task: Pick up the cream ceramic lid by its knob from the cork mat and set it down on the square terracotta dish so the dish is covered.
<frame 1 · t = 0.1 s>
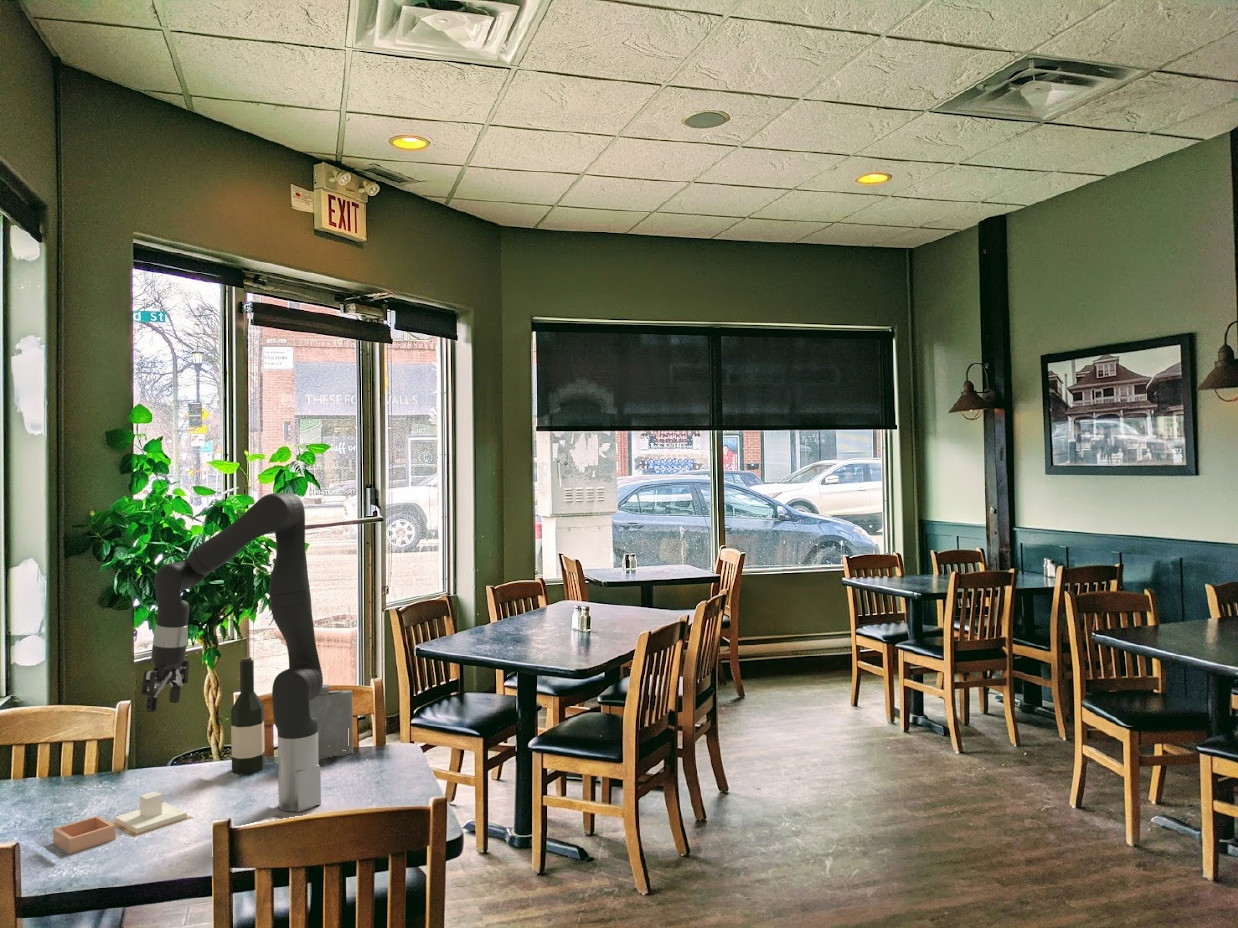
hand: (162, 706, 220), 22 cm above the table, tool pointing down, fingers open, 8 cm apart
hip flask: (324, 757, 250), on the table
lid: (151, 819, 204), point 1 cm above the table, touching mat
dish: (84, 845, 193), on the table
wine bottle: (248, 769, 241), on the table
mat: (151, 824, 204), on the table
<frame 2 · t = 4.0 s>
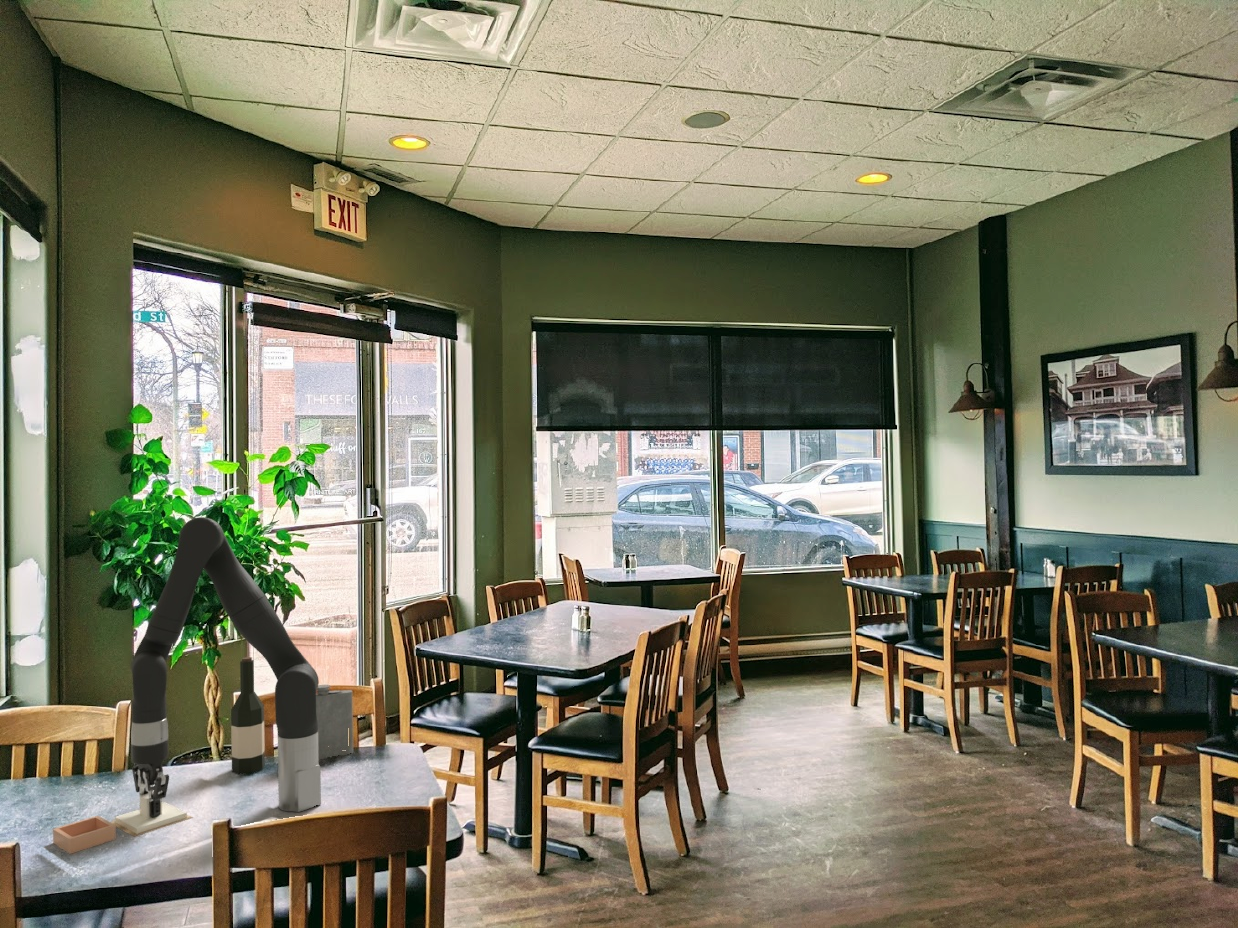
hand: (150, 813, 204), 2 cm above the table, tool pointing down, fingers closed on lid, 3 cm apart
lid: (151, 819, 204), point 1 cm above the table, touching gripper, mat
everything else where it was.
when the fingers open (7 cm above the table, at t = 8.5 s): lid drops 1 cm, resting on dish.
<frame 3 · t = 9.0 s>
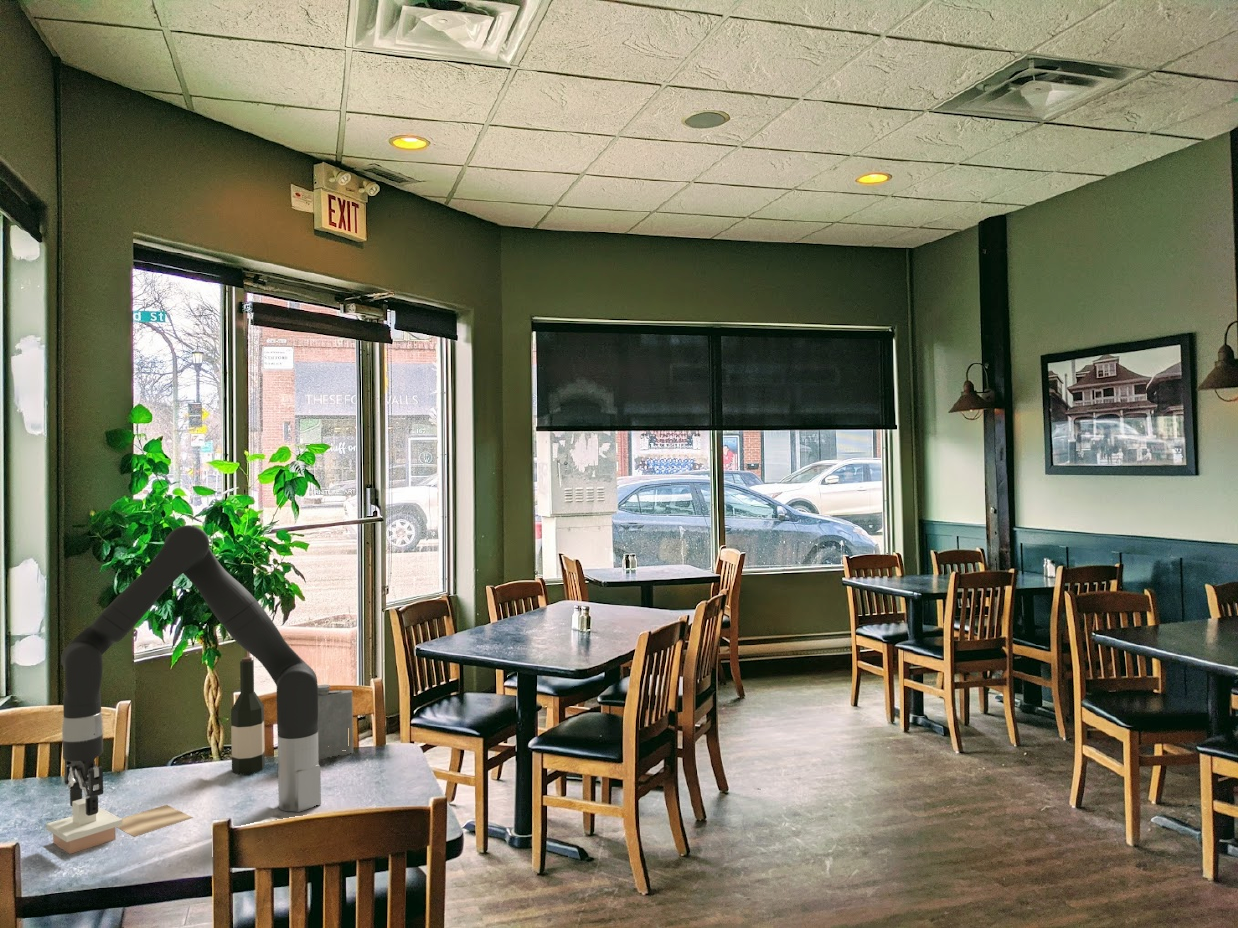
hand: (84, 809, 193), 8 cm above the table, tool pointing down, fingers open, 8 cm apart
lid: (84, 826, 193), point 4 cm above the table, touching dish
everything else where it was.
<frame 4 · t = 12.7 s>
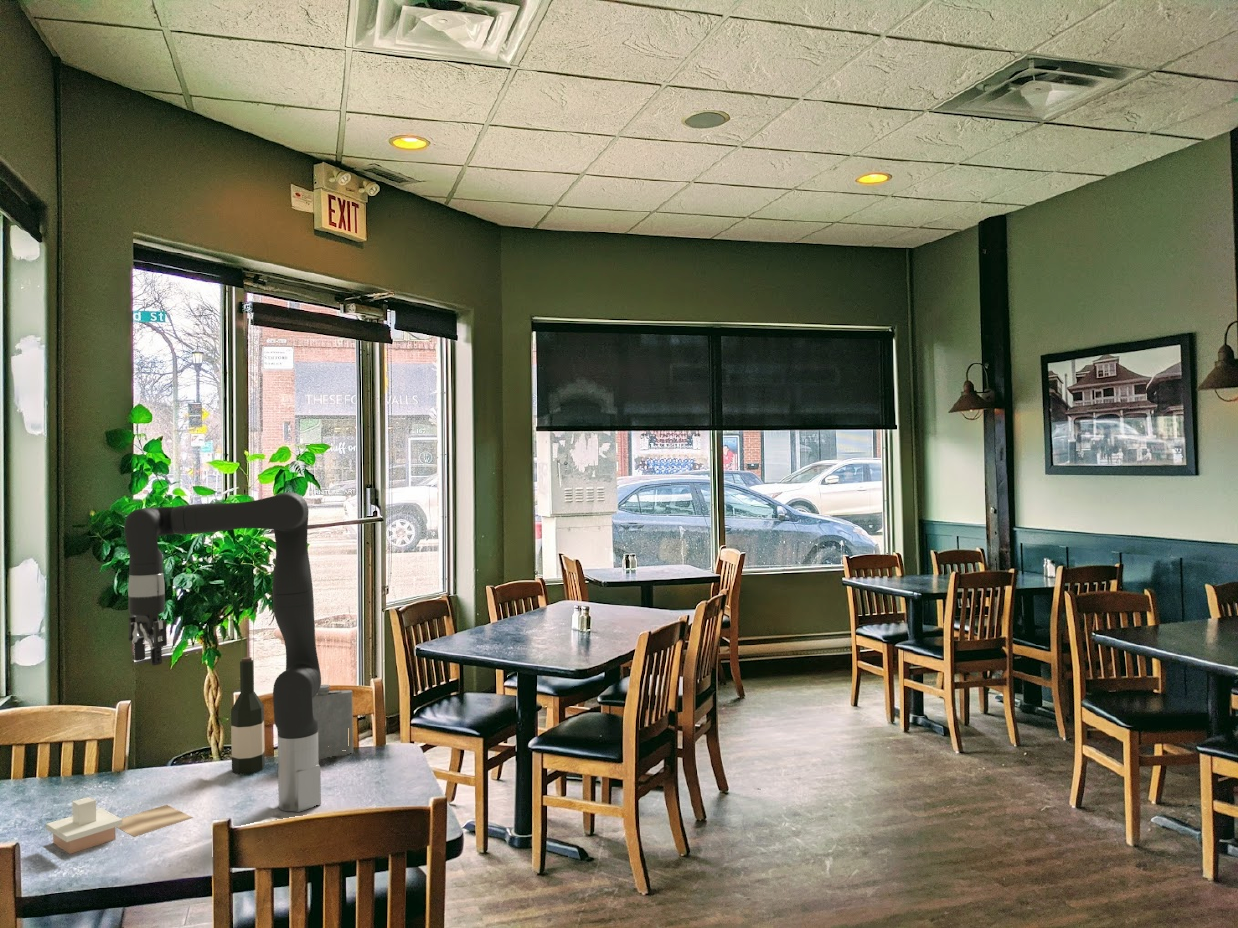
hand: (147, 662, 209), 36 cm above the table, tool pointing down, fingers open, 8 cm apart
nothing on the table moved.
at the end: lid 0.1 cm off-centre on the dish, point 4.0 cm above the dish's base; lid touching dish; the gripper is holding nothing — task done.
